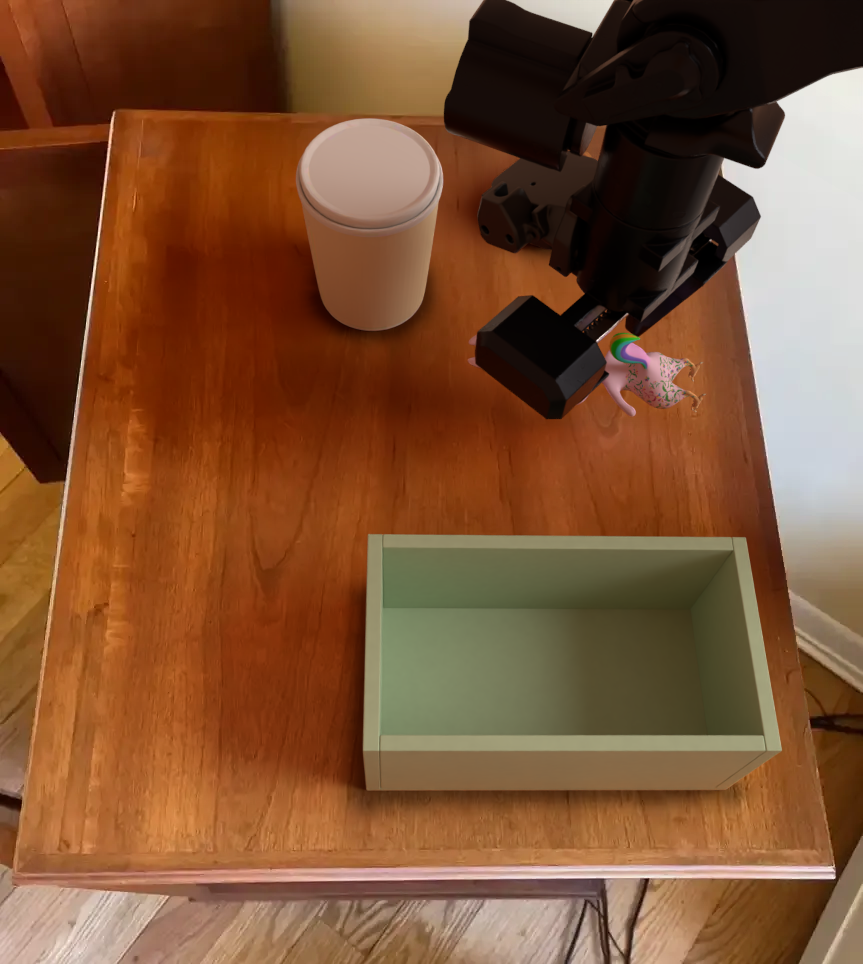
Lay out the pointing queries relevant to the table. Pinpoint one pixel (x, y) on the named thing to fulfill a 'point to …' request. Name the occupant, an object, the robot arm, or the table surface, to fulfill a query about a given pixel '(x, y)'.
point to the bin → (563, 663)
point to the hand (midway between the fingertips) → (595, 366)
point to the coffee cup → (370, 219)
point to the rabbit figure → (640, 374)
